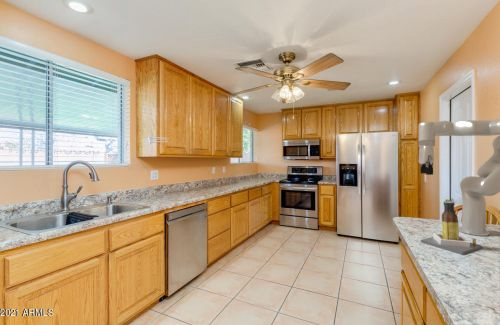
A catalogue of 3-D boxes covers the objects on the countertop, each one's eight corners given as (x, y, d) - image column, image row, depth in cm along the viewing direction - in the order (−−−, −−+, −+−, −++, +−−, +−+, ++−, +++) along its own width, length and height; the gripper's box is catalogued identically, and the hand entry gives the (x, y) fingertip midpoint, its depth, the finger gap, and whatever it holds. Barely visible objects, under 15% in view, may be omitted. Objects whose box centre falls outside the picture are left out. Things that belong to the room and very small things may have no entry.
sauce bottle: (461, 243, 114) (461, 202, 114) (456, 245, 111) (456, 203, 110) (444, 239, 120) (444, 200, 119) (439, 241, 116) (439, 201, 116)
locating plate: (440, 237, 126) (440, 229, 126) (482, 248, 111) (482, 239, 111) (420, 242, 119) (420, 233, 119) (461, 254, 104) (462, 245, 104)
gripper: (414, 144, 143) (414, 172, 144) (423, 143, 127) (423, 175, 128) (429, 144, 141) (429, 173, 141) (440, 142, 124) (440, 175, 125)
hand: (426, 174), depth 134 cm, fingers open, 9 cm apart
